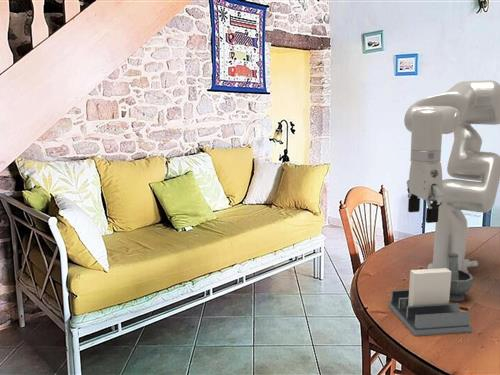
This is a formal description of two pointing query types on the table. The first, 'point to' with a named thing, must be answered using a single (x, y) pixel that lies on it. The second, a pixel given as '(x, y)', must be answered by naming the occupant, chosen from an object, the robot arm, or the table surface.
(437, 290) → the white flat block
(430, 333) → the rack
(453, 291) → the mortar and pestle
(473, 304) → the table surface
